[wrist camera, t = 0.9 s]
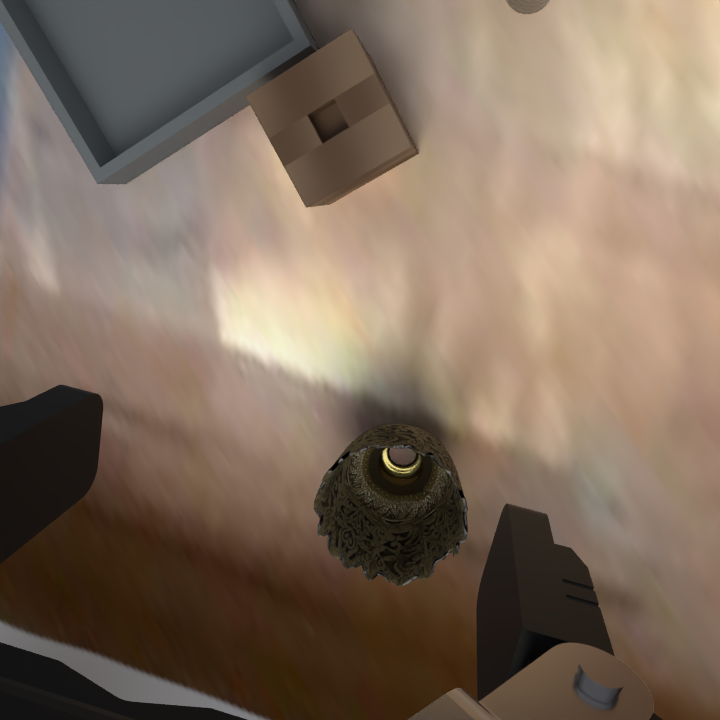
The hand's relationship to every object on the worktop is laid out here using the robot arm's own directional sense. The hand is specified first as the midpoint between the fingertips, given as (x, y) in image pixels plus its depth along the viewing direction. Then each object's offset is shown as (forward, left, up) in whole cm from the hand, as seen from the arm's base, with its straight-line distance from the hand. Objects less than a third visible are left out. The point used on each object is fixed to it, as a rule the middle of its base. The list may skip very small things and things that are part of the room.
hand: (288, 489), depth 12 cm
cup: (+4, +9, -25) cm, 27 cm away
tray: (+4, -19, -25) cm, 32 cm away
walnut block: (-2, -9, -25) cm, 26 cm away
